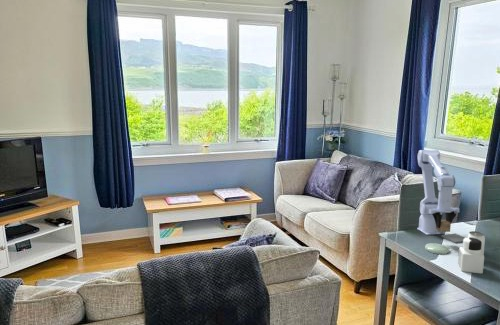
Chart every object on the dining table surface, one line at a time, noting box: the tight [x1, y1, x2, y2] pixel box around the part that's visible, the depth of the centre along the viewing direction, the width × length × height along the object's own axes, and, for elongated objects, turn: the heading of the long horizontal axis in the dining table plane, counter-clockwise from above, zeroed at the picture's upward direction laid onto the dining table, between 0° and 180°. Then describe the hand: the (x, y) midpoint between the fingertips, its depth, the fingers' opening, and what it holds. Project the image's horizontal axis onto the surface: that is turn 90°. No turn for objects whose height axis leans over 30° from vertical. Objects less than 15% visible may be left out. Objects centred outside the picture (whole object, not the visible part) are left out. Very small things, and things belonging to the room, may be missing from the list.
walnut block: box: [436, 219, 452, 233], centre depth 180 cm, size 4×4×4 cm
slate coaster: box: [440, 233, 466, 244], centre depth 187 cm, size 9×9×1 cm
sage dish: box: [424, 242, 450, 255], centre depth 175 cm, size 10×10×1 cm
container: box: [457, 237, 485, 275], centre depth 154 cm, size 8×8×13 cm
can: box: [467, 230, 486, 256], centre depth 163 cm, size 6×6×12 cm
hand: (442, 226), depth 181 cm, fingers closed on walnut block, 4 cm apart
